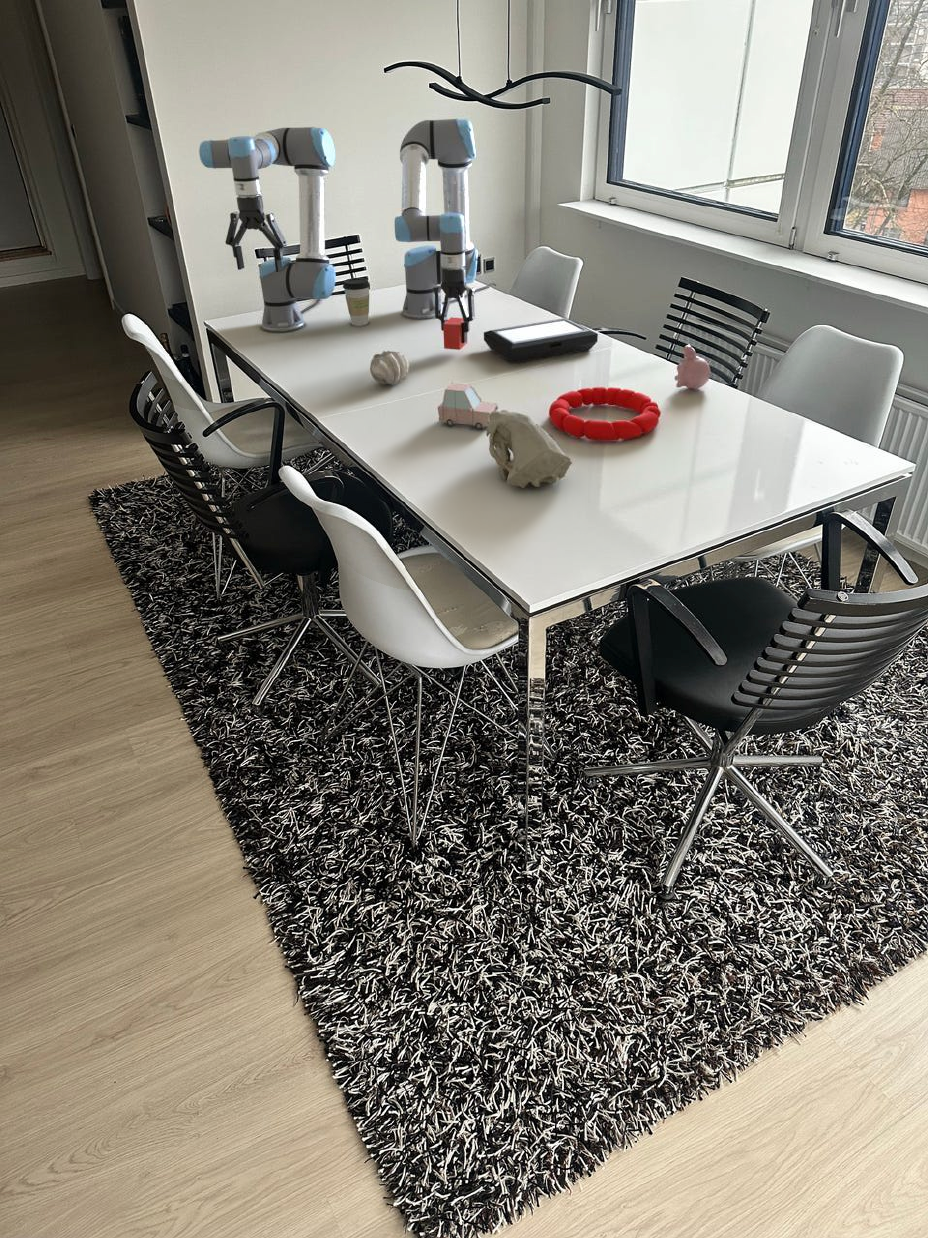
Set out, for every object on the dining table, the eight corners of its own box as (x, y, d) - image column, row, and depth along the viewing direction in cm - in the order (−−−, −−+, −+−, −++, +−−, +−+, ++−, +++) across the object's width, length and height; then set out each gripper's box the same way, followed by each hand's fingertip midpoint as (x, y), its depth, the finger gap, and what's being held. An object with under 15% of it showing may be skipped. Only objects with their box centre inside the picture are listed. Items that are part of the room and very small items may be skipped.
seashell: (362, 383, 274) (359, 351, 268) (406, 374, 280) (403, 342, 274) (376, 393, 267) (373, 360, 261) (420, 383, 272) (418, 351, 267)
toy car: (488, 432, 240) (488, 396, 234) (436, 426, 244) (434, 390, 239) (499, 419, 247) (499, 384, 241) (448, 413, 252) (447, 379, 246)
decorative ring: (589, 435, 224) (684, 402, 234) (527, 398, 247) (617, 369, 256) (589, 461, 229) (683, 427, 238) (529, 422, 251) (617, 393, 260)
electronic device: (510, 346, 280) (483, 329, 295) (510, 365, 283) (483, 348, 299) (598, 331, 290) (567, 315, 305) (597, 350, 294) (567, 334, 309)
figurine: (665, 387, 264) (669, 347, 257) (693, 380, 268) (698, 340, 261) (686, 396, 257) (690, 355, 250) (714, 388, 262) (720, 348, 255)
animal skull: (496, 517, 219) (521, 479, 201) (463, 429, 225) (484, 384, 207) (557, 503, 225) (586, 465, 206) (523, 417, 231) (549, 373, 212)
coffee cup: (372, 326, 323) (368, 283, 314) (345, 327, 323) (340, 284, 315) (374, 318, 331) (371, 276, 322) (348, 319, 331) (344, 277, 323)
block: (444, 348, 291) (443, 323, 287) (452, 341, 297) (451, 317, 292) (459, 349, 289) (459, 324, 285) (467, 342, 295) (466, 318, 291)
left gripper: (206, 196, 266) (219, 270, 278) (279, 198, 259) (289, 274, 271) (219, 192, 272) (231, 264, 284) (292, 194, 265) (301, 268, 277)
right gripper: (421, 268, 279) (425, 342, 292) (477, 271, 274) (478, 346, 287) (430, 262, 285) (433, 335, 298) (484, 265, 280) (486, 339, 293)
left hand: (260, 269), depth 278 cm, fingers open, 13 cm apart
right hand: (455, 341), depth 292 cm, fingers closed on block, 5 cm apart
